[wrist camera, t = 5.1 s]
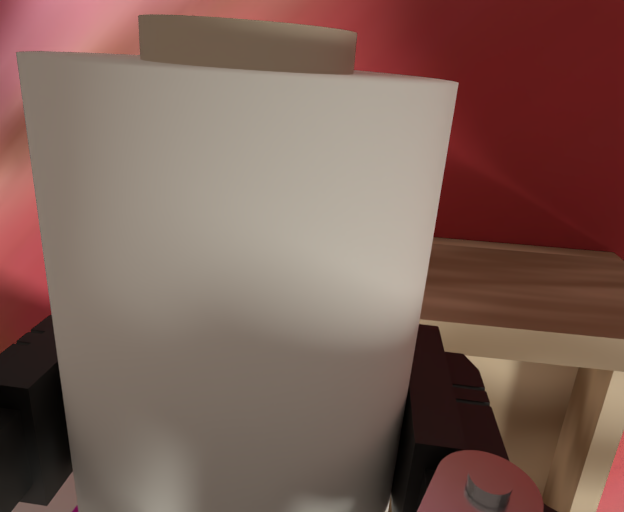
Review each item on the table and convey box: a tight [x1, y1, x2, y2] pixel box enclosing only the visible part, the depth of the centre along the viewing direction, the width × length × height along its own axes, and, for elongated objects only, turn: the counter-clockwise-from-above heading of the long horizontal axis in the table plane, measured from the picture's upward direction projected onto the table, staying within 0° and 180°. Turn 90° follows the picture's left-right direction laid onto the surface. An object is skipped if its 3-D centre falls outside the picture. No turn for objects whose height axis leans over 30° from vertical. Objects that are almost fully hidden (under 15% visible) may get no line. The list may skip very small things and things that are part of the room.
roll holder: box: [388, 237, 624, 512], centre depth 24 cm, size 17×11×9 cm
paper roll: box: [16, 15, 459, 512], centre depth 9 cm, size 12×6×6 cm, turn 176°
